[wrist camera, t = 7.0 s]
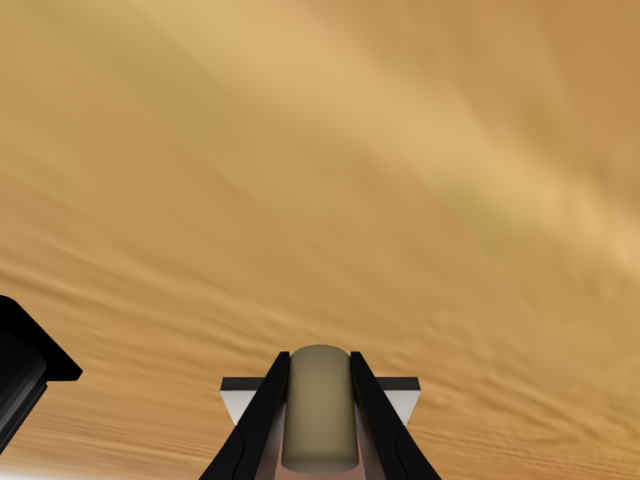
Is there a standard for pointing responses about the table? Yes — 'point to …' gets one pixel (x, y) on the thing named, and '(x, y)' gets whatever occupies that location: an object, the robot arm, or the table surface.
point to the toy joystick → (320, 418)
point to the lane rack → (396, 388)
